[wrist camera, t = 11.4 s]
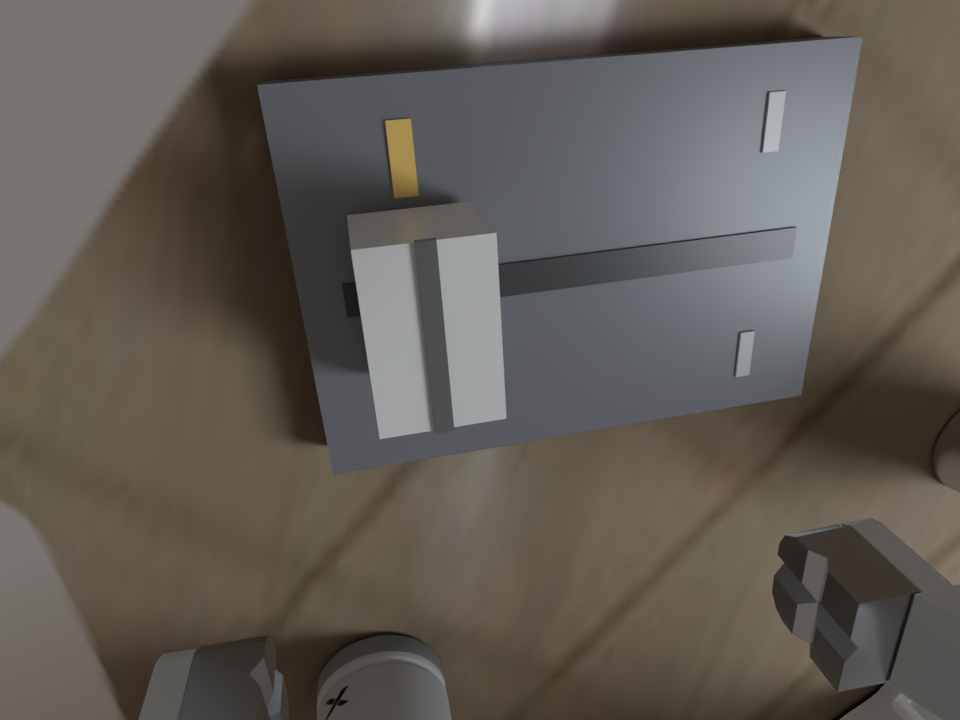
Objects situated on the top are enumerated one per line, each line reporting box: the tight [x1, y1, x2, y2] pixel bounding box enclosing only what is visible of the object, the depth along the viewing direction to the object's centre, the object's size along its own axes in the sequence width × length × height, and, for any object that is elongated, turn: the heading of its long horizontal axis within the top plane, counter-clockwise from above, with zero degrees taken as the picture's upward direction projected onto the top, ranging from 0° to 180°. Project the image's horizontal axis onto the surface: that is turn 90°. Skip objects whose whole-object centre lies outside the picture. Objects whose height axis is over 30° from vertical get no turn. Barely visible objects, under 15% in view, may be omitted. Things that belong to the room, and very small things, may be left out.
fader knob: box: [347, 202, 506, 439], centre depth 21 cm, size 4×6×4 cm, turn 4°
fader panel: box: [257, 37, 863, 475], centre depth 25 cm, size 20×14×2 cm
